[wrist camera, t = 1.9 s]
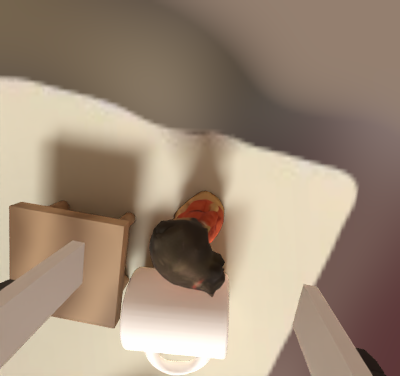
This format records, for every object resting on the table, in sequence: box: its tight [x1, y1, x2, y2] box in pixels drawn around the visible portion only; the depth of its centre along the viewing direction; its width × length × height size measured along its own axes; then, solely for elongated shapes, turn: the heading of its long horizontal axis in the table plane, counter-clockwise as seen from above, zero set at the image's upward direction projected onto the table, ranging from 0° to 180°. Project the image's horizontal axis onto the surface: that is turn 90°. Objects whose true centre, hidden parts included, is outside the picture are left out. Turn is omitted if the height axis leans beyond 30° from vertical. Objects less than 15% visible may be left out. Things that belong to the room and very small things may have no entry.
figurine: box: [149, 191, 226, 297], centre depth 23 cm, size 6×6×12 cm
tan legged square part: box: [9, 201, 135, 328], centre depth 27 cm, size 11×11×6 cm
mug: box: [120, 267, 229, 375], centre depth 27 cm, size 12×10×8 cm
